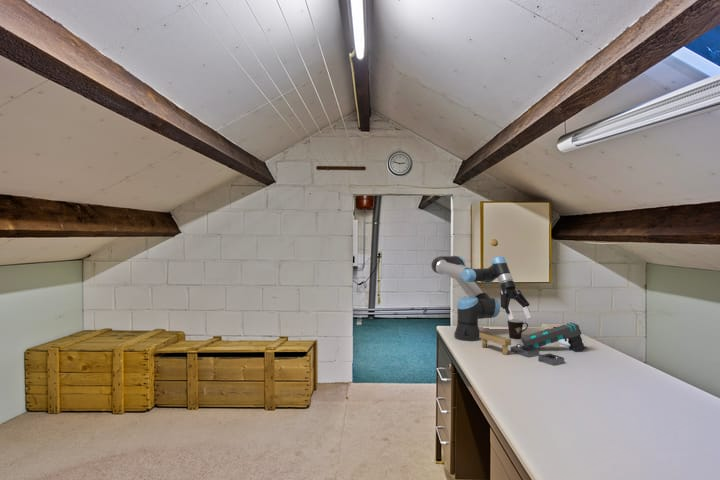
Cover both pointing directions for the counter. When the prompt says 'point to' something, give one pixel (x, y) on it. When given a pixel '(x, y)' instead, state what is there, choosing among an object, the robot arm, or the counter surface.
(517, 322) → the coffee mug
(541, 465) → the counter surface
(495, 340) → the gold bar
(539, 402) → the counter surface
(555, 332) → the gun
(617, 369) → the counter surface
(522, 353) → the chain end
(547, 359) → the chain end
